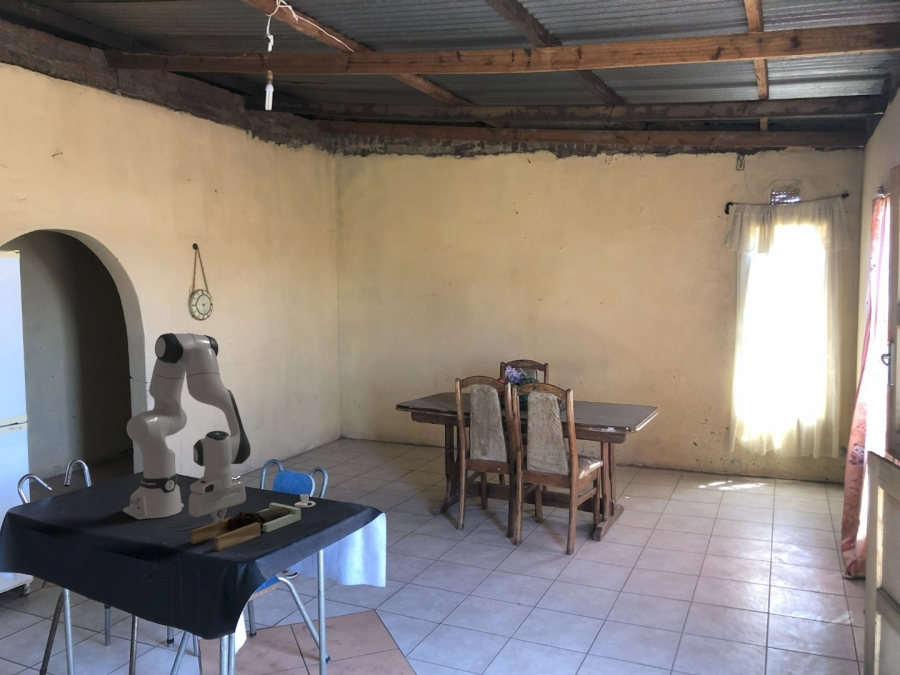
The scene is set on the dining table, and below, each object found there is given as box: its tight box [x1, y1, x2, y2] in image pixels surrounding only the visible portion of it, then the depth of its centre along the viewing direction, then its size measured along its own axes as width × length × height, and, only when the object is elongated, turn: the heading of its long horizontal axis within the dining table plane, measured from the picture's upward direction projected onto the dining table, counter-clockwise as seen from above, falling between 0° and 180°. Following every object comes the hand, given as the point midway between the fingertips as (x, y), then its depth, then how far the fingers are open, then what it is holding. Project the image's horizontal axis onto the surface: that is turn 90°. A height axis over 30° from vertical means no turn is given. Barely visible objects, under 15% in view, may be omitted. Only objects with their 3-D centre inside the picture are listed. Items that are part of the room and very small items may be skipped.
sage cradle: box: [255, 502, 302, 533], centre depth 246 cm, size 14×16×4 cm
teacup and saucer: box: [293, 493, 316, 508], centre depth 266 cm, size 9×8×4 cm
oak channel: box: [189, 516, 261, 552], centre depth 229 cm, size 14×17×4 cm
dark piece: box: [227, 507, 288, 532], centre depth 240 cm, size 21×8×7 cm, turn 133°
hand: (218, 522), depth 228 cm, fingers closed
